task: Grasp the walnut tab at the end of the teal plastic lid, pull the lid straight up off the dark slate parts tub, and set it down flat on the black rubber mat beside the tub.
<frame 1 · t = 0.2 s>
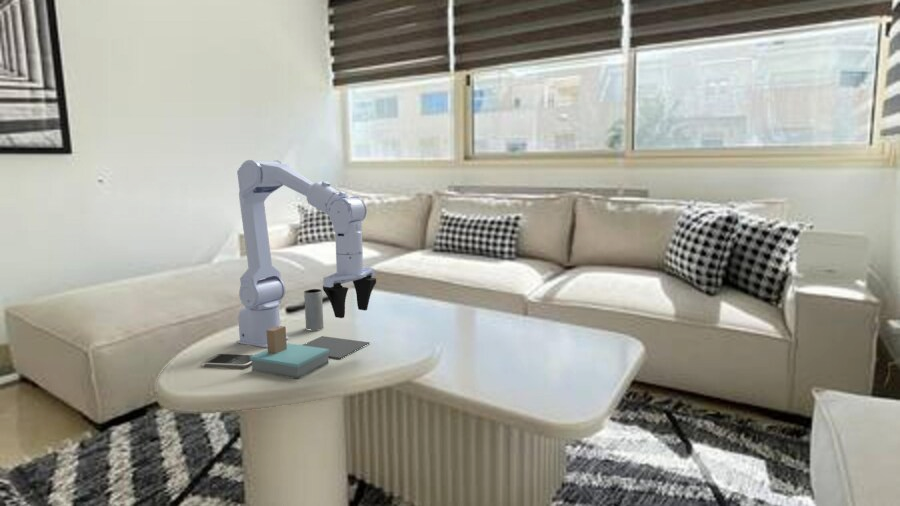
hand: (351, 313, 121), 10 cm above the table, tool pointing down, fingers open, 7 cm apart
lid: (290, 355, 116), point 2 cm above the table, touching tub
grey cylinder: (314, 329, 146), on the table
mat: (330, 347, 129), on the table
cell phone: (231, 365, 120), on the table
tub: (291, 366, 117), on the table
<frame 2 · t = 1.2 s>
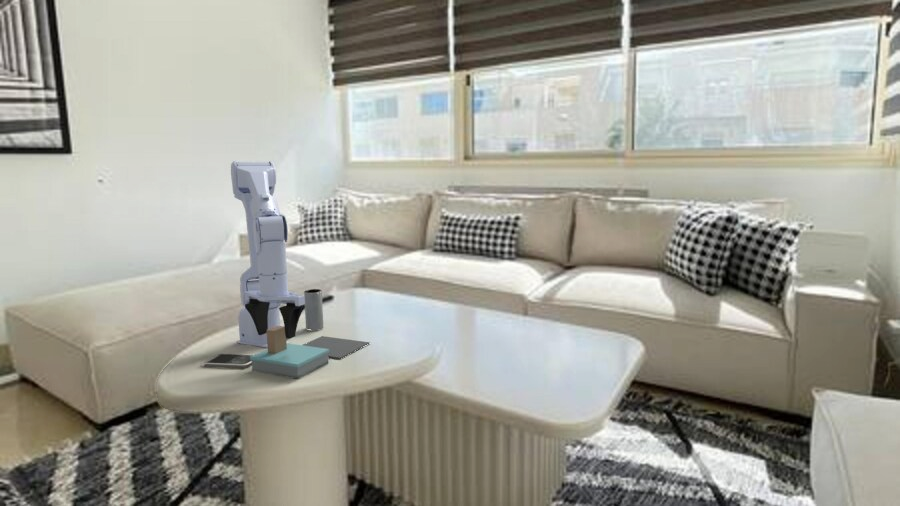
hand: (276, 335, 117), 6 cm above the table, tool pointing down, fingers open, 7 cm apart
nothing on the table moved.
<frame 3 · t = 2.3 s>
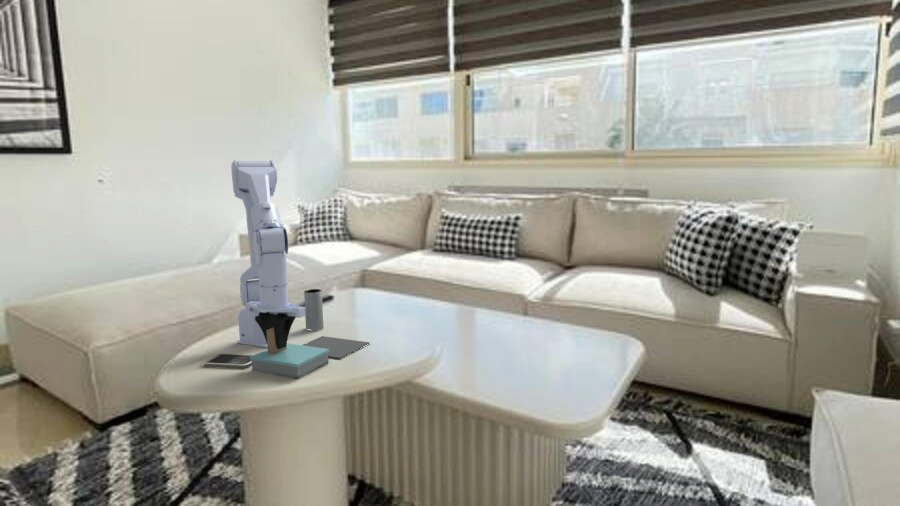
hand: (277, 346, 117), 4 cm above the table, tool pointing down, fingers closed on lid
lid: (290, 355, 116), point 2 cm above the table, touching gripper, tub
everything else where it was.
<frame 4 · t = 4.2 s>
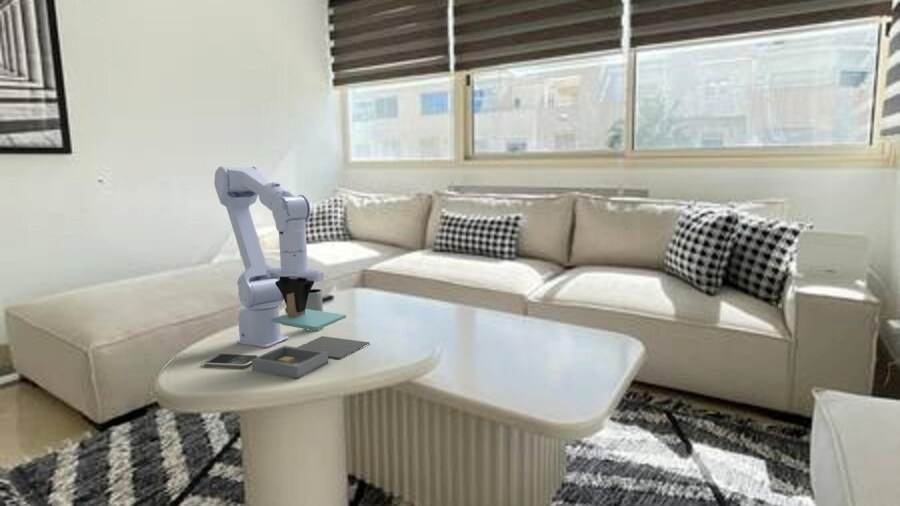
hand: (296, 310, 123), 10 cm above the table, tool pointing down, fingers closed on lid
lid: (309, 319, 121), point 9 cm above the table, touching gripper
everything else where it was.
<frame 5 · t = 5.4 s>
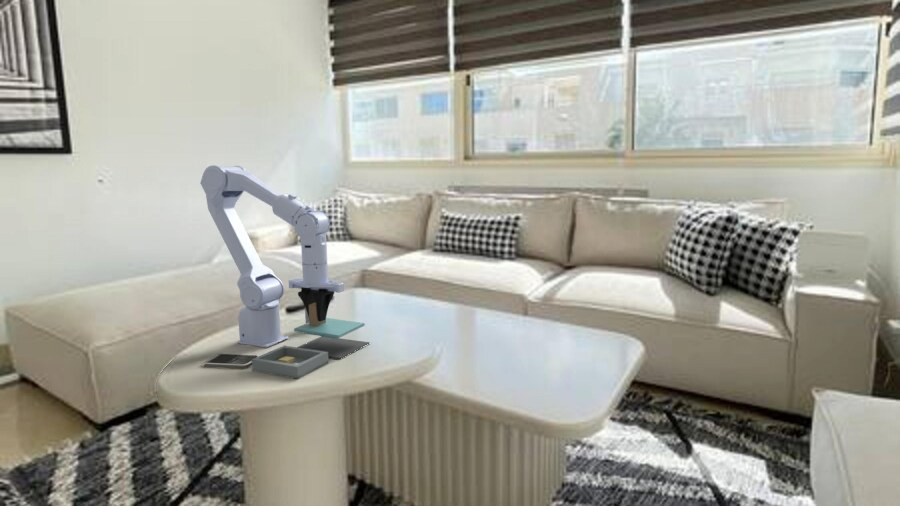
hand: (317, 319, 130), 6 cm above the table, tool pointing down, fingers closed on lid
lid: (330, 328, 129), point 5 cm above the table, touching gripper
everything else where it was.
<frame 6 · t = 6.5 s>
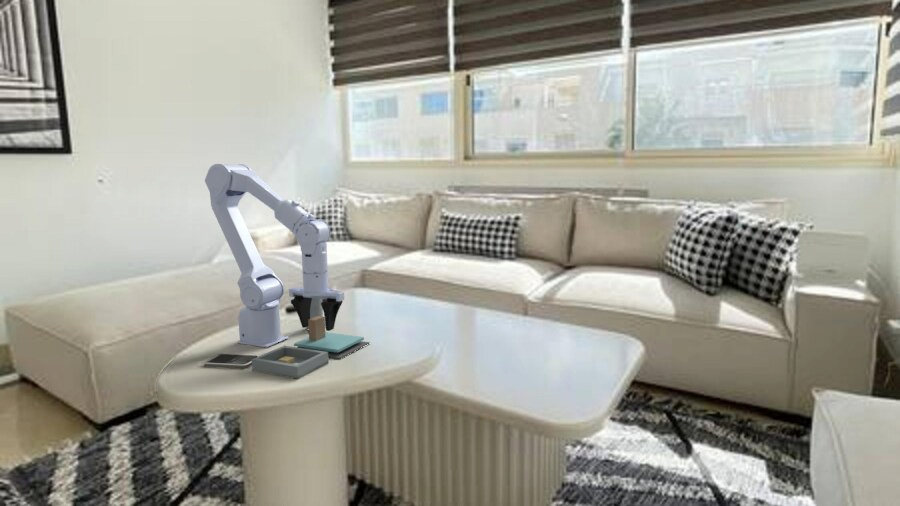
hand: (317, 328, 130), 4 cm above the table, tool pointing down, fingers open, 6 cm apart
lid: (329, 342, 129), point 1 cm above the table, touching mat
everything else where it was.
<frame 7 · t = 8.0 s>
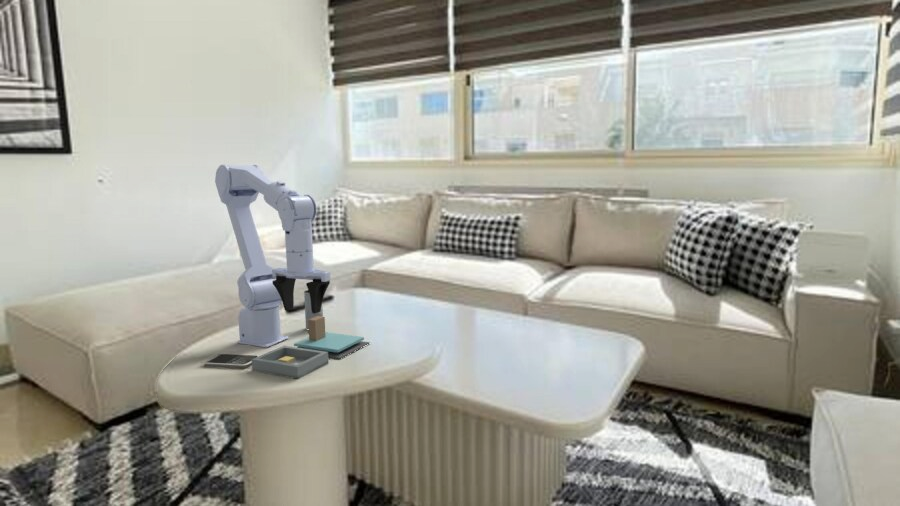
hand: (302, 310, 122), 10 cm above the table, tool pointing down, fingers open, 7 cm apart
nothing on the table moved.
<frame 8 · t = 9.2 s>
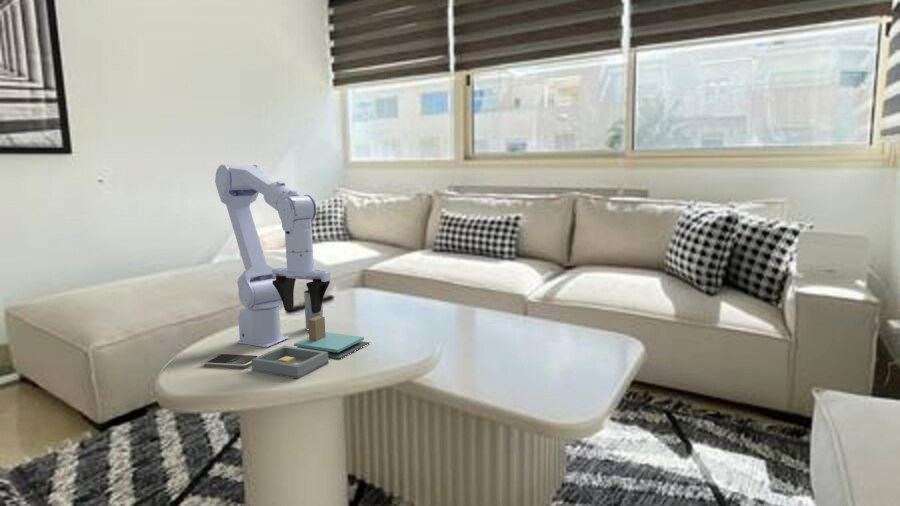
hand: (302, 310, 122), 10 cm above the table, tool pointing down, fingers open, 7 cm apart
nothing on the table moved.
at the end: lid 0.3 cm off-centre on the mat, point 1.2 cm above the mat's base; lid touching mat; the gripper is holding nothing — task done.
